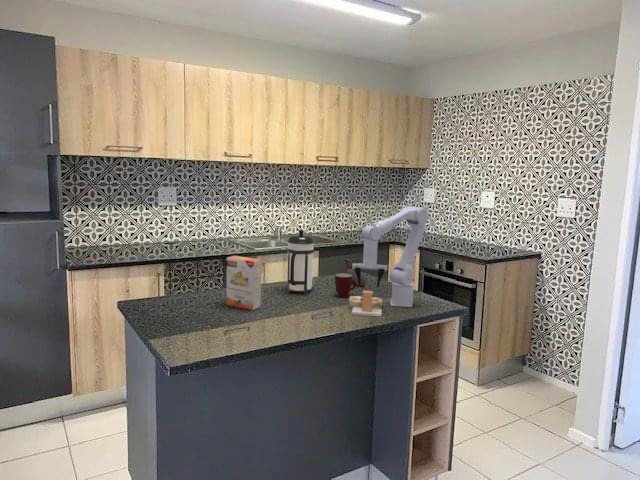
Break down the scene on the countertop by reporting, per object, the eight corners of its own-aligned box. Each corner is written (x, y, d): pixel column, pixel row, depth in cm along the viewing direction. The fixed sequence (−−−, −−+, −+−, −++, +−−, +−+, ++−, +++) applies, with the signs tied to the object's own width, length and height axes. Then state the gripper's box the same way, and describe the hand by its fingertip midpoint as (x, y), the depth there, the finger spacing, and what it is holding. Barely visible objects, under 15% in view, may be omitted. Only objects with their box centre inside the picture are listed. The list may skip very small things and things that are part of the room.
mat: (381, 311, 200) (381, 309, 200) (381, 316, 193) (381, 314, 193) (353, 309, 202) (353, 307, 202) (352, 314, 195) (352, 312, 195)
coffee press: (277, 288, 231) (278, 227, 226) (307, 286, 238) (309, 227, 233) (290, 298, 216) (292, 232, 211) (322, 295, 222) (324, 232, 218)
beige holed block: (381, 304, 211) (381, 298, 210) (381, 310, 202) (381, 303, 201) (350, 302, 212) (350, 295, 212) (348, 308, 203) (348, 301, 203)
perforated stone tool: (368, 287, 241) (369, 274, 240) (359, 288, 238) (360, 274, 237) (352, 280, 254) (353, 268, 253) (344, 281, 251) (345, 268, 250)
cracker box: (225, 305, 201) (225, 257, 198) (234, 302, 206) (234, 254, 203) (252, 311, 195) (253, 261, 191) (261, 307, 200) (262, 258, 197)
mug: (349, 292, 229) (350, 272, 228) (359, 296, 222) (360, 275, 221) (331, 294, 224) (331, 274, 222) (340, 299, 217) (341, 277, 215)
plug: (371, 309, 199) (372, 290, 198) (371, 312, 196) (372, 293, 194) (362, 308, 200) (363, 290, 199) (362, 311, 196) (362, 292, 195)
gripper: (352, 255, 196) (351, 287, 198) (387, 257, 194) (386, 289, 196) (353, 252, 203) (352, 283, 205) (387, 254, 201) (385, 285, 203)
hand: (368, 286), depth 201 cm, fingers open, 7 cm apart
